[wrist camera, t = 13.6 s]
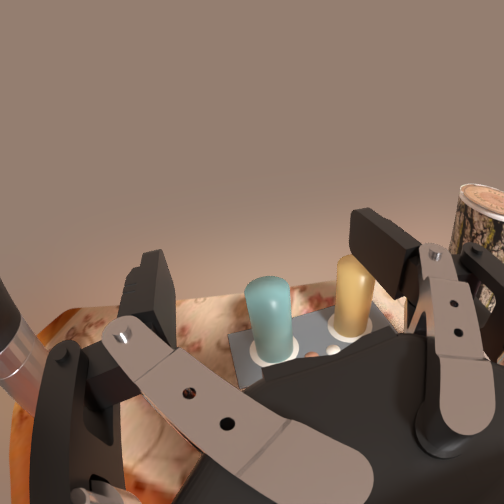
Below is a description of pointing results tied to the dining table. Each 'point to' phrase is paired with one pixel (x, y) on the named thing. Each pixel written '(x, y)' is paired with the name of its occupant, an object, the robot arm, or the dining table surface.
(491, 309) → the wooden log
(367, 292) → the amber tube
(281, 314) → the teal tube
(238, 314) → the dining table surface
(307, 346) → the card
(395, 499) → the robot arm
